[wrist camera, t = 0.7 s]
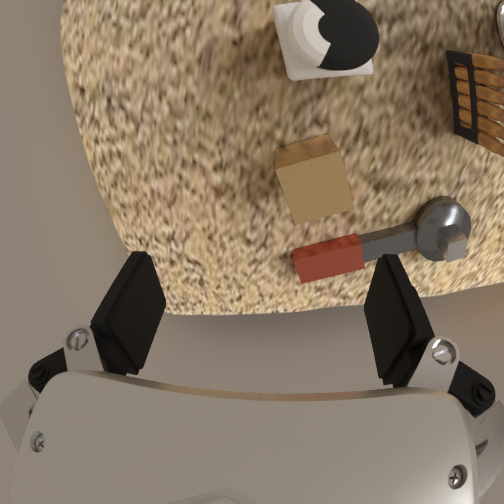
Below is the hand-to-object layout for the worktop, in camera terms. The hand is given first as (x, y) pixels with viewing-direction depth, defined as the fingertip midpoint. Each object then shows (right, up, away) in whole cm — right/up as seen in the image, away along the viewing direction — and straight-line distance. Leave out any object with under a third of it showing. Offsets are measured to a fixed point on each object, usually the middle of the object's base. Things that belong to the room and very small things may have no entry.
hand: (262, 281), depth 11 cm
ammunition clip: (+24, +20, +10) cm, 33 cm away
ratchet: (+18, +3, +24) cm, 30 cm away
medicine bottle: (+6, +22, +11) cm, 25 cm away
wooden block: (+6, +11, +19) cm, 23 cm away
